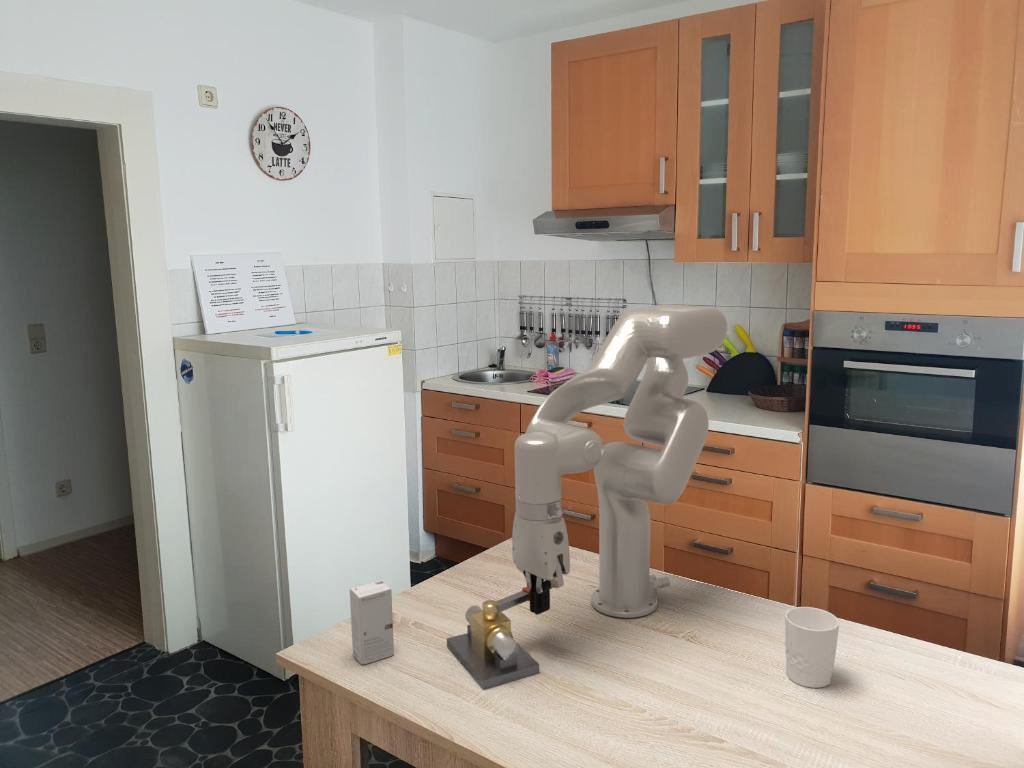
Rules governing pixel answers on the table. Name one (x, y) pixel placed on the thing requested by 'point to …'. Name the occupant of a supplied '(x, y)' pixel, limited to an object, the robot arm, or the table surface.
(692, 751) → the table surface
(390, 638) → the skincare box
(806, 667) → the white cup
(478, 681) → the valve manifold
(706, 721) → the table surface
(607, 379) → the robot arm
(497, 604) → the valve lever
